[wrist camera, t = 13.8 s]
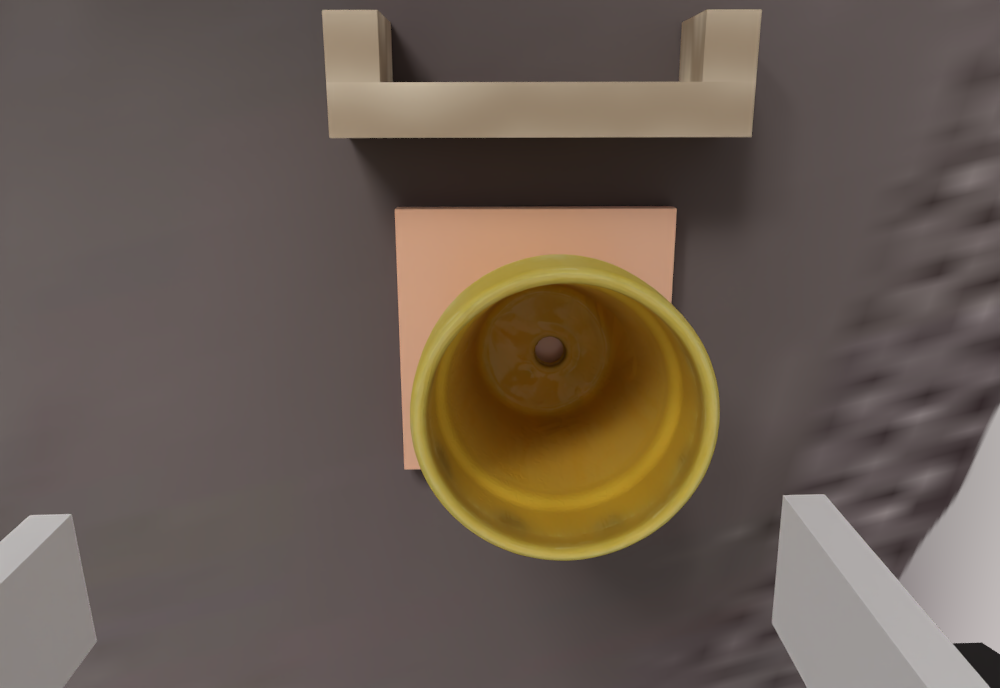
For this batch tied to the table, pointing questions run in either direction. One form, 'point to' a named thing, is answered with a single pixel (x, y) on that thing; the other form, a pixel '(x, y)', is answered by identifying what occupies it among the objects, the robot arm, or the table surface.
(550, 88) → the flower pot holder
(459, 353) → the plant pot
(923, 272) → the table surface
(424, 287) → the tile
